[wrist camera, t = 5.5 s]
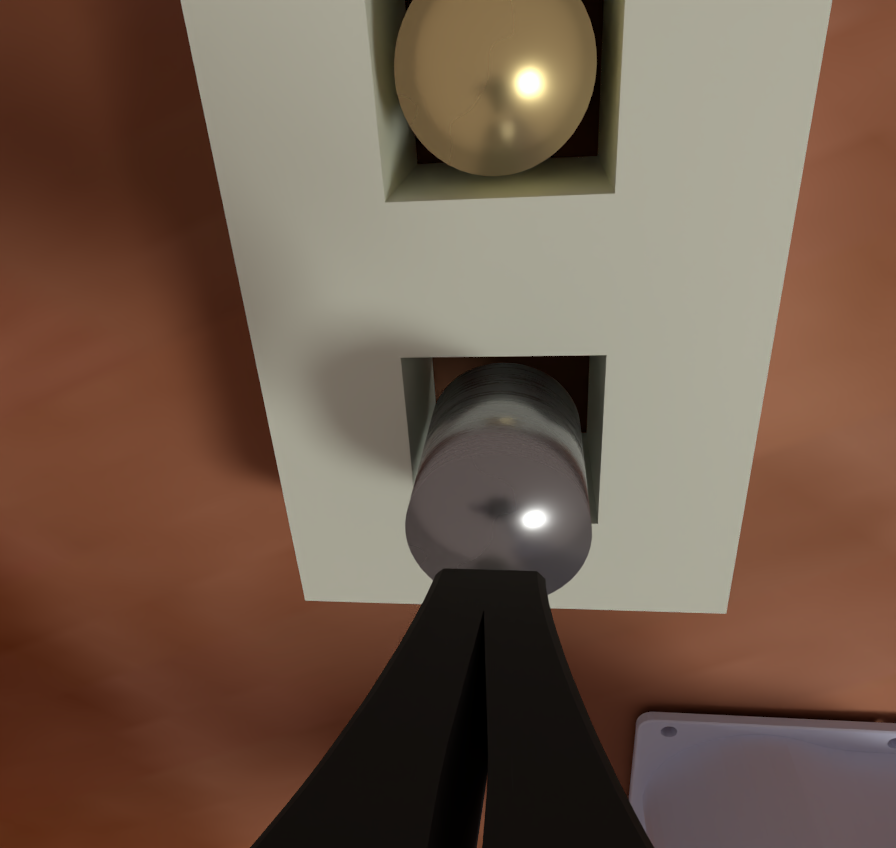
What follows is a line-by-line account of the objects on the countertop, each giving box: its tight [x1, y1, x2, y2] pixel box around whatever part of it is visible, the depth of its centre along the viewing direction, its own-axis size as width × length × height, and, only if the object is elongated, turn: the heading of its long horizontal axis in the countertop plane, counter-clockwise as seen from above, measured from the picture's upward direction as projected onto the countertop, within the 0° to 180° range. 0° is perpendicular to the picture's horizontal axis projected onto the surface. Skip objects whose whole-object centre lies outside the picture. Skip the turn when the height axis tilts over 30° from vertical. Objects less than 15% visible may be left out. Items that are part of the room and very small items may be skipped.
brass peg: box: [394, 0, 597, 176], centre depth 13 cm, size 3×3×4 cm
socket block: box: [181, 0, 832, 614], centre depth 15 cm, size 10×16×4 cm, turn 3°
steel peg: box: [405, 363, 592, 595], centre depth 14 cm, size 3×3×4 cm
